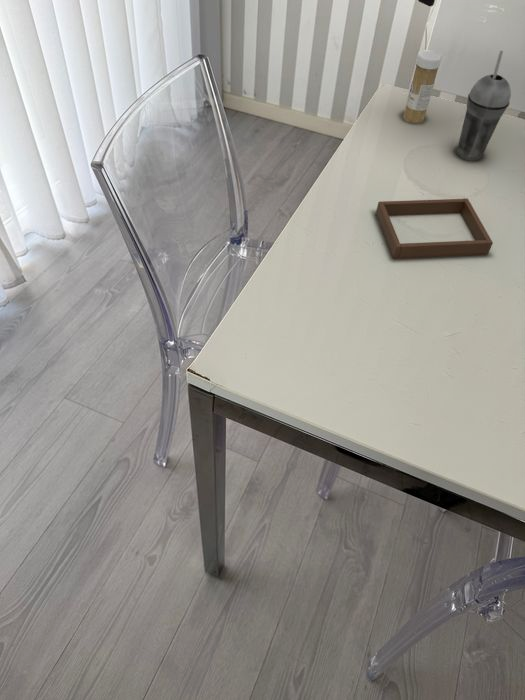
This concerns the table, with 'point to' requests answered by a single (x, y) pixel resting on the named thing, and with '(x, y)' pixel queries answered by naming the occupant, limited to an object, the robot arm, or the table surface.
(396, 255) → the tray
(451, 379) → the table surface
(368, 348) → the table surface
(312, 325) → the table surface
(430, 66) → the sprinkles bottle
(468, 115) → the beverage cup
